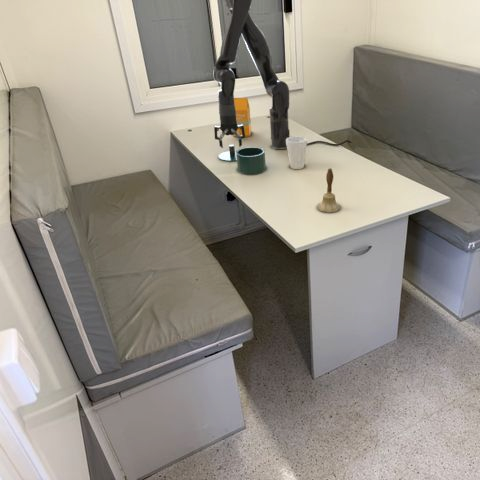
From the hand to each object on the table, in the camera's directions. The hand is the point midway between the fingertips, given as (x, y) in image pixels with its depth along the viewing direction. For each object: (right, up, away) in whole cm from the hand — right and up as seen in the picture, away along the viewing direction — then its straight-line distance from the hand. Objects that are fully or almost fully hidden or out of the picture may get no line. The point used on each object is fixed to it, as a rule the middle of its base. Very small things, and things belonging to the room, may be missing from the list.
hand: (231, 147), depth 208 cm
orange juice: (0, +14, +34) cm, 37 cm away
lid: (0, -4, +3) cm, 5 cm away
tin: (+12, -12, -10) cm, 20 cm away
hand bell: (+47, -33, -43) cm, 71 cm away
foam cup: (+32, -11, -7) cm, 35 cm away
